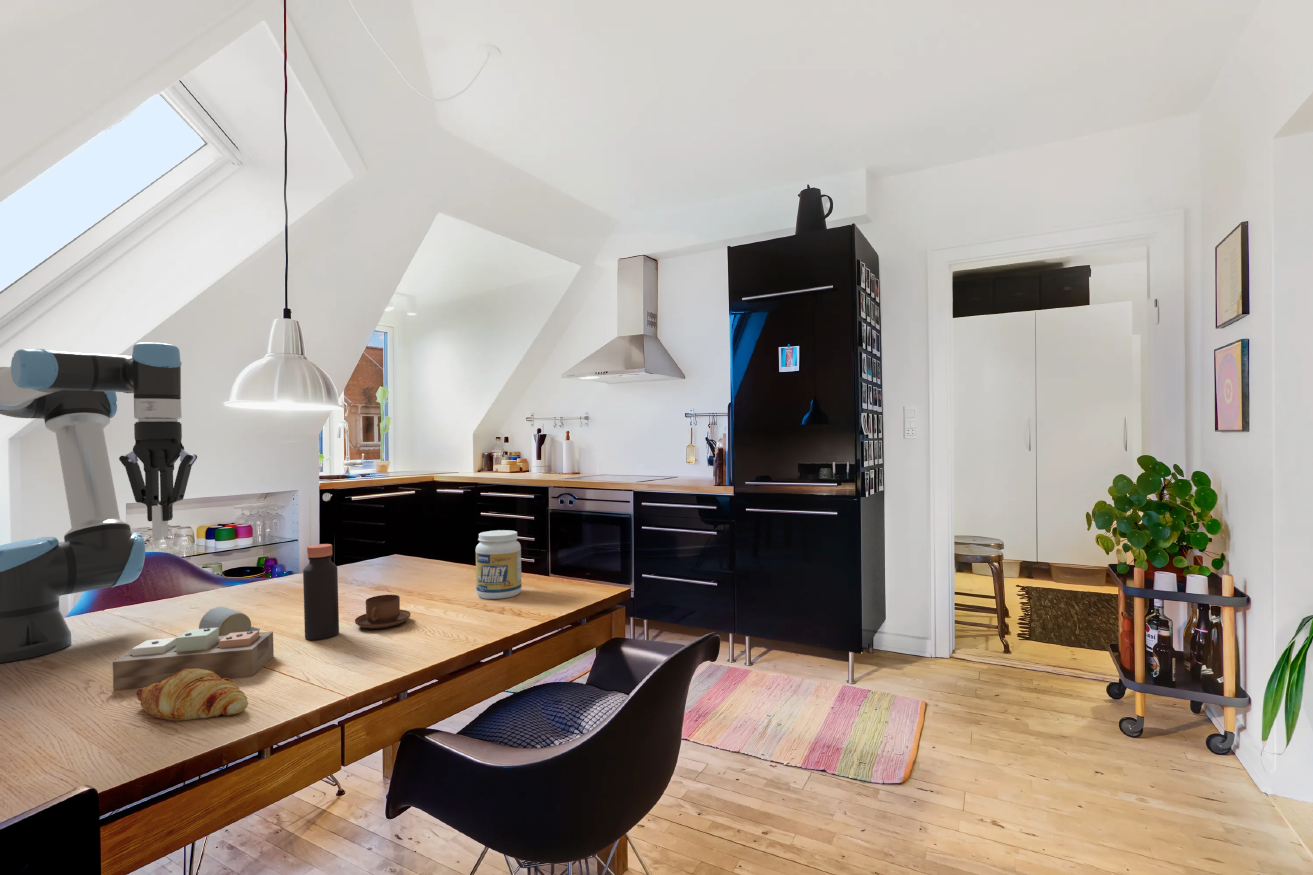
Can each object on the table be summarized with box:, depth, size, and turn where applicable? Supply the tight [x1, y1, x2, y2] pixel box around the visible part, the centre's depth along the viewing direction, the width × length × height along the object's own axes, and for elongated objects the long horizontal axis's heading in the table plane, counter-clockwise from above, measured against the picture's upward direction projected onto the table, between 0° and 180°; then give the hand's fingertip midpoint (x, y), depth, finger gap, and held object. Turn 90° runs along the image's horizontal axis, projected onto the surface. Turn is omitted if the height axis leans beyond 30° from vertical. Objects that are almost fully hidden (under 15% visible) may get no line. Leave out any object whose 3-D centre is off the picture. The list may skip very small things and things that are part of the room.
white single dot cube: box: [131, 637, 177, 656], centre depth 118 cm, size 5×5×4 cm
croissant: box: [135, 668, 249, 722], centre depth 103 cm, size 21×10×8 cm, turn 79°
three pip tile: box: [219, 631, 260, 648], centre depth 122 cm, size 5×5×4 cm
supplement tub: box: [474, 529, 522, 600], centre depth 174 cm, size 12×12×17 cm
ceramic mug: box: [198, 606, 261, 636], centre depth 139 cm, size 10×8×7 cm
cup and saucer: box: [354, 594, 412, 630], centre depth 148 cm, size 12×12×6 cm
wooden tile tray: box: [112, 631, 275, 691], centre depth 120 cm, size 22×11×5 cm, turn 103°
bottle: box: [302, 543, 340, 641], centre depth 140 cm, size 7×7×20 cm
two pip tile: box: [175, 628, 219, 652], centre depth 120 cm, size 5×5×4 cm
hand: (160, 537), depth 128 cm, fingers closed
